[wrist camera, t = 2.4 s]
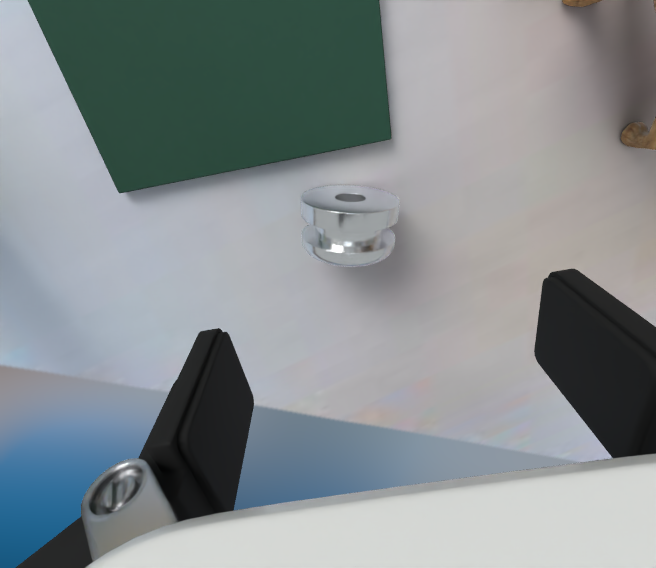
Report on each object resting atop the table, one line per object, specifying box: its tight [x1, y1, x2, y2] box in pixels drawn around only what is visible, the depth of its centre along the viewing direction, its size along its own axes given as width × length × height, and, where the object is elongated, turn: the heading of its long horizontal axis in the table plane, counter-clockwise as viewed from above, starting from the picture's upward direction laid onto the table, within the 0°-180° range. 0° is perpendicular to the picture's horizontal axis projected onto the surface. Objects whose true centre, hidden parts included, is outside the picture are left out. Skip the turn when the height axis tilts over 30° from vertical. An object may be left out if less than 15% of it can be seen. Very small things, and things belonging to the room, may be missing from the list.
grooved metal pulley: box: [301, 185, 400, 267], centre depth 19 cm, size 5×3×5 cm, turn 89°
